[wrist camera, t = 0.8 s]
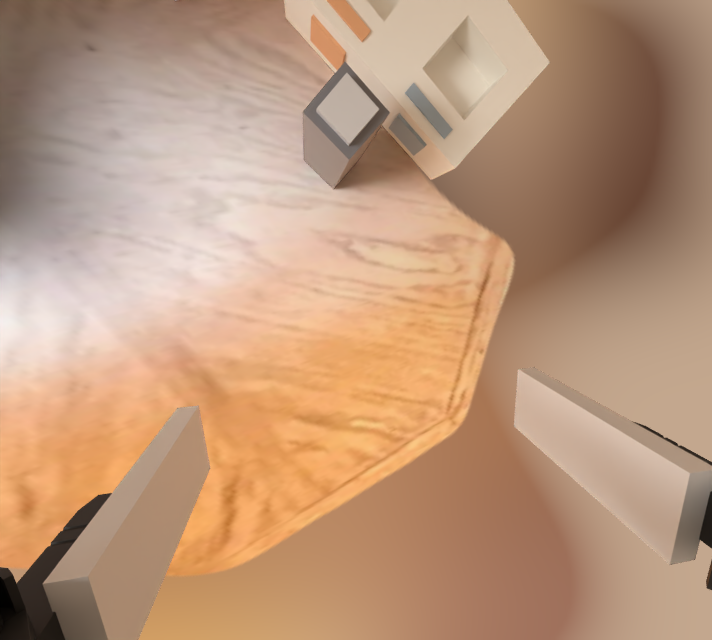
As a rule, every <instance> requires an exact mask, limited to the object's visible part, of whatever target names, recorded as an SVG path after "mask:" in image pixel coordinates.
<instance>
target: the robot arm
mask: <svg viewBox="0 0 712 640" xmlns="http://www.w3.org/2000/svg"><path fill="white" fill-rule="evenodd" d="M514 426H515V428H517V429H518V430H519V431H520V432H521V433H522V434H523V435H525V436H526V437H527V438H528V439H529V440H530V441H531V442H532V443H534V444H535V445H536V446H537V447H538V448H539V449H540V450H541V451H542V452H544V453H545V454H546V455H547V456H548V457H549V458H550V459H552V460H553V461H554V462H555V463H556V464H557V465H558V466H559V467H560V468H562V469H563V470H564V471H565V472H566V473H567V474H568V475H569V476H571V477H572V478H573V479H574V480H575V481H576V482H577V483H578V484H579V485H581V486H582V487H583V488H584V489H585V490H586V491H587V492H588V493H590V494H591V495H592V496H593V497H594V498H596V500H597V501H599V502H600V503H601V504H602V505H603V506H604V507H605V508H607V509H608V510H609V511H610V512H611V513H612V514H613V515H614V516H615V517H617V518H618V519H619V520H620V521H621V522H622V523H623V524H624V525H625V526H627V527H628V528H629V529H630V530H631V531H632V532H633V533H635V534H636V535H637V536H638V537H639V538H640V539H641V540H642V541H643V542H645V543H646V544H647V545H648V546H649V547H650V548H651V549H652V550H654V551H655V552H656V553H657V554H658V555H659V556H660V557H661V558H663V559H664V560H665V561H666V562H667V563H668V564H669V565H672V564H677V563H682V562H686V561H691V560H695V558H696V554H697V550H698V546H699V542H700V540H701V541H703V542H704V543H705V544H706V545H708V546H709V547H710V548H712V462H710V461H709V460H707V459H705V458H703V457H701V456H699V455H698V454H696V453H694V452H692V451H690V450H688V449H686V448H685V447H683V446H678V444H677V443H676V442H674V441H672V440H670V439H668V438H664V437H663V436H662V435H661V434H659V433H657V432H655V431H653V430H652V429H650V428H648V427H646V426H644V425H641V424H638V423H636V422H633V421H630V420H628V419H627V418H625V417H623V416H621V415H619V414H618V413H616V412H614V411H612V410H610V409H609V408H607V407H605V406H603V405H601V404H600V403H598V402H596V401H594V400H592V399H590V398H589V397H587V396H585V395H583V394H581V393H579V392H578V391H576V390H574V389H572V388H571V387H569V386H567V385H565V384H563V383H562V382H560V381H558V380H556V379H554V378H553V377H551V376H549V375H547V374H545V373H544V372H542V371H540V370H538V369H536V368H535V367H533V368H524V369H518V377H517V391H516V407H515V420H514ZM209 470H210V464H209V459H208V453H207V448H206V443H205V437H204V432H203V426H202V421H201V416H200V410H199V406H192V407H183V408H177V409H176V411H175V412H174V413H173V414H172V416H171V417H170V418H169V420H168V421H167V422H166V424H165V425H164V426H163V427H162V429H161V430H160V431H159V433H158V434H157V435H156V437H155V438H154V439H153V441H152V442H151V443H150V444H149V446H148V447H147V448H146V450H145V451H144V452H143V454H142V455H141V456H140V457H139V459H138V460H137V461H136V463H135V464H134V465H133V467H132V468H131V469H130V471H129V472H128V473H127V474H126V476H125V477H124V478H123V480H122V481H121V482H120V484H119V485H118V486H117V487H116V489H115V490H114V491H113V493H109V494H102V495H98V496H96V497H95V498H94V499H93V500H91V501H90V502H89V503H87V504H86V505H85V506H84V507H82V508H81V509H80V510H78V511H77V513H76V514H75V515H74V516H73V517H72V519H71V520H70V521H69V522H68V523H67V524H66V526H65V527H64V529H63V531H61V532H60V533H59V534H58V535H57V536H56V538H55V539H54V540H53V541H52V542H51V546H49V547H47V548H46V549H45V551H44V552H43V553H42V554H41V555H40V556H39V558H38V559H37V560H36V561H35V562H34V564H33V565H32V566H31V567H30V568H29V570H28V571H27V572H26V573H25V574H24V576H23V577H22V578H21V579H20V580H19V581H18V583H17V584H16V582H15V579H14V576H13V574H12V573H11V572H10V570H9V569H8V568H1V567H0V640H138V639H139V637H140V634H141V632H142V629H143V627H144V625H145V622H146V620H147V618H148V615H149V613H150V610H151V608H152V606H153V603H154V601H155V598H156V596H157V594H158V591H159V589H160V586H161V584H162V582H163V579H164V577H165V575H166V572H167V570H168V568H169V565H170V563H171V560H172V558H173V556H174V553H175V551H176V548H177V546H178V544H179V541H180V539H181V537H182V534H183V532H184V529H185V527H186V525H187V522H188V520H189V518H190V515H191V513H192V510H193V508H194V506H195V503H196V501H197V498H198V496H199V494H200V491H201V489H202V487H203V484H204V482H205V479H206V477H207V475H208V472H209ZM706 584H707V588H708V589H710V590H712V561H711V565H710V568H709V573H708V577H707V580H706Z"/></svg>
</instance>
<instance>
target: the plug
mask: <svg viewBox="0 0 712 640" xmlns="http://www.w3.org/2000/svg"><path fill="white" fill-rule="evenodd" d="M389 114H390V112H389V111H388V110H387V109H386V107H385V106H384V105H383V104H382V103H381V102H380V101H379V100H378V98H377V97H376V96H375V95H374V94H373V93H372V92H371V90H370V89H369V88H368V87H367V86H366V85H365V84H364V82H363V81H362V80H361V79H360V78H359V77H358V76H357V74H356V73H355V72H354V71H353V70H352V69H351V68H350V67H349V65H348V64H347V63H346V62H344V63H343V64H342V66H341V67H340V68H339V69H338V70H337V72H336V73H335V74H334V75H333V76H332V78H331V79H330V80H329V81H328V82H327V84H326V85H325V86H324V87H323V88H322V90H321V91H320V92H319V93H318V94H317V96H316V97H315V98H314V99H313V100H312V102H311V103H310V104H309V105H308V106H307V108H306V109H305V110H304V111H303V145H304V161H305V162H306V163H307V164H308V165H309V166H310V167H311V168H312V169H313V170H314V171H315V172H316V173H317V174H318V175H319V176H320V177H321V178H322V179H323V180H324V181H325V182H326V183H328V184H329V185H330V186H331V187H332V188H333V189H334V188H335V187H336V186H337V185H338V183H339V182H340V181H341V180H342V179H343V178H344V176H345V175H346V174H347V173H348V172H349V171H350V169H351V168H352V167H353V166H354V165H355V164H356V163H357V161H358V160H359V159H360V157H361V156H362V154H363V153H364V151H365V150H366V148H367V147H368V145H369V144H370V142H371V141H372V139H373V138H374V136H375V135H376V133H377V132H378V130H379V129H380V127H381V126H382V124H383V123H384V121H385V120H386V118H387V117H388V115H389Z"/></svg>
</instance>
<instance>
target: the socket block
mask: <svg viewBox="0 0 712 640" xmlns="http://www.w3.org/2000/svg"><path fill="white" fill-rule="evenodd" d="M284 5H285V16H286V19H287V20H288V21H289V22H290V24H291V25H292V26H293V27H294V28H295V29H296V30H297V31H298V32H299V34H300V35H301V36H302V37H303V38H304V39H305V40H306V41H307V42H308V44H309V45H310V46H311V47H312V48H313V49H314V50H315V51H316V52H317V54H318V55H319V56H320V57H321V58H322V59H323V60H324V61H325V62H326V64H327V65H328V66H329V67H330V68H331V69H332V70H333V71H334V73H336V72H337V70H338V69H339V68H340V67H341V66H342V64H343V63H344V62H346V63H347V64H348V65H349V67H350V68H351V69H352V70H353V71H354V72H355V73H356V74H357V76H358V77H359V78H360V79H361V80H362V81H363V82H364V84H365V85H366V86H367V87H368V88H369V89H370V90H371V92H372V93H373V94H374V95H375V96H376V97H377V98H378V100H379V101H380V102H381V103H382V104H383V105H384V106H385V107H386V109H387V110H388V111H389V112H390V114H389V115H388V117H387V118H386V120H385V121H384V123H383V124H382V126H383V127H384V128H385V129H386V130H387V132H388V133H389V134H390V135H391V136H392V137H393V138H394V139H395V140H396V142H397V143H398V144H399V145H400V146H401V147H402V148H403V149H404V150H405V152H406V153H407V154H408V155H409V156H410V157H411V158H412V159H413V160H414V162H415V163H416V164H417V165H418V166H419V167H420V168H421V169H422V170H423V172H424V173H425V174H426V175H427V176H428V177H429V178H430V179H431V180H432V179H434V178H436V177H438V176H441V175H443V174H444V173H447V172H449V171H451V170H453V169H455V168H456V167H457V166H458V165H459V164H460V163H461V161H462V160H463V159H464V158H465V157H466V156H467V155H468V154H469V153H470V151H471V150H472V149H473V148H474V147H475V146H476V145H477V144H478V142H479V141H480V140H481V139H482V138H483V137H484V136H485V134H487V132H488V131H489V130H490V129H491V128H492V127H493V126H494V125H495V123H496V122H497V121H498V120H499V119H500V118H501V117H502V116H503V115H504V113H505V112H506V111H507V110H508V109H509V108H510V107H511V106H512V104H513V103H514V102H515V101H516V100H517V99H518V98H519V97H520V95H521V94H522V93H523V92H524V91H525V90H526V89H527V88H528V87H529V85H530V84H531V83H532V82H533V81H534V80H535V79H536V78H537V77H538V75H539V74H540V73H541V72H542V71H543V70H544V69H545V68H546V67H547V65H548V64H549V63H550V62H549V60H548V59H547V57H546V56H545V54H544V53H543V51H542V50H541V48H540V47H539V46H538V44H537V43H536V41H535V40H534V38H533V37H532V35H531V34H530V32H529V31H528V30H527V28H526V27H525V25H524V24H523V22H522V21H521V19H520V18H519V16H518V15H517V14H516V12H515V11H514V9H513V8H512V6H511V5H510V3H509V2H508V0H284Z"/></svg>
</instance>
